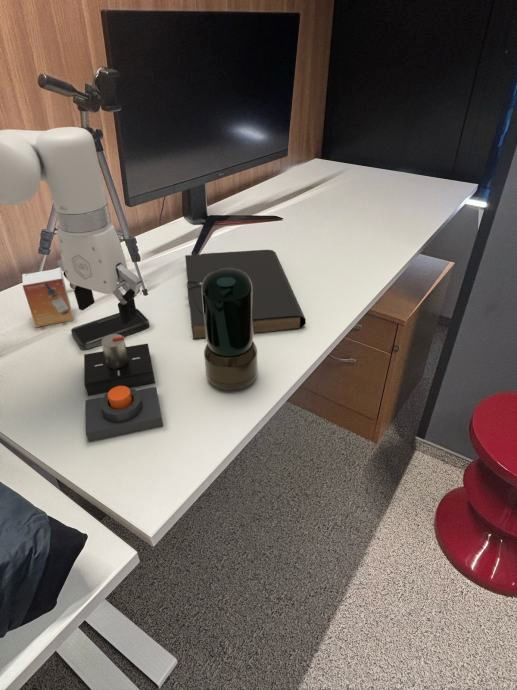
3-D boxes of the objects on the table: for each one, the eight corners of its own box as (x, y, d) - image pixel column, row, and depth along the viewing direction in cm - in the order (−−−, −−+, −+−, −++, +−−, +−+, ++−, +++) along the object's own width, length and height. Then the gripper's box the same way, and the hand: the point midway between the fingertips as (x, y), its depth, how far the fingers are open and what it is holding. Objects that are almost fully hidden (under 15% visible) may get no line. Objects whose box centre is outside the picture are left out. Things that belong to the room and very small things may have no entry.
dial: (107, 370, 87) (101, 347, 84) (106, 357, 90) (100, 334, 87) (129, 366, 88) (124, 343, 85) (127, 354, 91) (122, 330, 88)
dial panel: (88, 396, 86) (84, 383, 84) (87, 366, 93) (83, 353, 91) (155, 383, 89) (152, 370, 87) (150, 355, 96) (147, 342, 94)
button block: (88, 442, 77) (82, 424, 75) (88, 409, 83) (82, 392, 81) (163, 426, 80) (160, 408, 78) (157, 395, 86) (154, 378, 84)
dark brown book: (184, 254, 124) (276, 248, 127) (185, 268, 126) (275, 262, 129) (190, 323, 97) (306, 313, 101) (192, 340, 100) (305, 329, 103)
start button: (110, 411, 78) (107, 402, 77) (109, 397, 81) (107, 388, 79) (133, 407, 79) (131, 397, 77) (131, 393, 81) (129, 383, 80)
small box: (35, 328, 104) (21, 285, 98) (35, 315, 108) (20, 273, 102) (74, 320, 107) (62, 278, 100) (72, 308, 111) (60, 266, 105)
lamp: (200, 391, 87) (188, 283, 74) (213, 359, 94) (204, 256, 82) (252, 396, 86) (249, 288, 73) (261, 364, 93) (260, 260, 80)
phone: (150, 322, 103) (81, 346, 96) (151, 326, 104) (82, 350, 97) (135, 306, 109) (69, 328, 102) (136, 311, 109) (70, 332, 102)
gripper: (24, 216, 73) (55, 311, 84) (110, 236, 67) (132, 337, 77) (62, 201, 79) (87, 292, 89) (145, 218, 72) (161, 314, 82)
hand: (108, 313), depth 83 cm, fingers open, 9 cm apart
